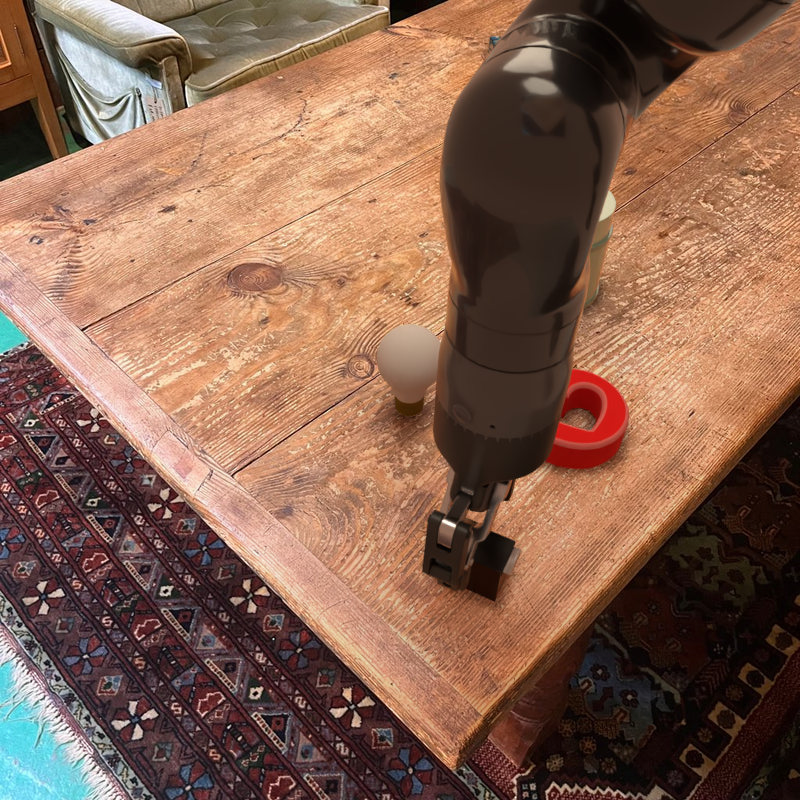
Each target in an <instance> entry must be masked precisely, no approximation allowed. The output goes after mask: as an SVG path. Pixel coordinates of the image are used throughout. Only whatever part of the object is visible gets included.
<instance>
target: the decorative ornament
mask: <svg viewBox="0 0 800 800" xmlns="http://www.w3.org/2000/svg"><path fill="white" fill-rule="evenodd" d="M574 409H584V410H585V411H588V412H589V413H591V414H592V416H593V417H594V420H595V424H594V425H593V426H592V428H591V429H590V430H589V429H584V428H580V427H576V426H573V425H570V424H567V423H564V422H562V421H559V425H558V429H557V433H556V436H555V440H554V444H553V448H552V451H551V453H550V455H549V457H548V458H547V460H546V461H545V463H547V464H550V465H552V466H556V467H560V468H564V469H571V470H587V469H594V468H596V467H599V466H601V465H603V464H605V463H607V462H609V461H610V460H612V458H613V457H614V456H615V455H617V453H618V452H619V450H620V448H621V446H622V443H623V440H624V438H625V434H626V431H627V428H628V425H629V422H630V409H629V405H628V403H627V400H626V399H625V397H624V395H623V394H622V393H621V391H620V390H619V389H618V388H617V387H616V386H615V385H614V384H613V383H612V382H610V381H609V380H608V379H606V378H605V377H603V376H600V374H599V375H598V374H596V373H595V372H592V371H589V370H586V369H585V370H584V369H580V368H573V369H572V374H571V379H570V383H569V387H568V391H567V394H566V398H565V402H564V406H563V410H562V414H561V417H560V418H562V419H564V418H565V415H567V413H568V412H569V411H571V410H574Z"/></svg>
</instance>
